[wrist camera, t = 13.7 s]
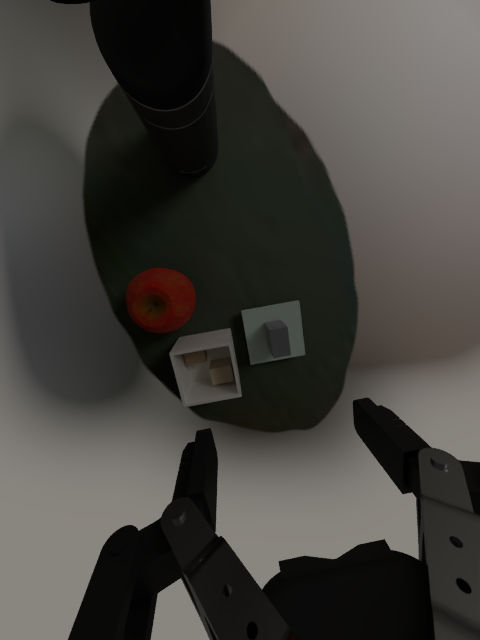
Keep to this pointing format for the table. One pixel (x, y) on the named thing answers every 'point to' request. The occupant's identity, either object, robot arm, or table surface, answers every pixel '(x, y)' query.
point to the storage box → (206, 367)
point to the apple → (160, 300)
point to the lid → (273, 332)
